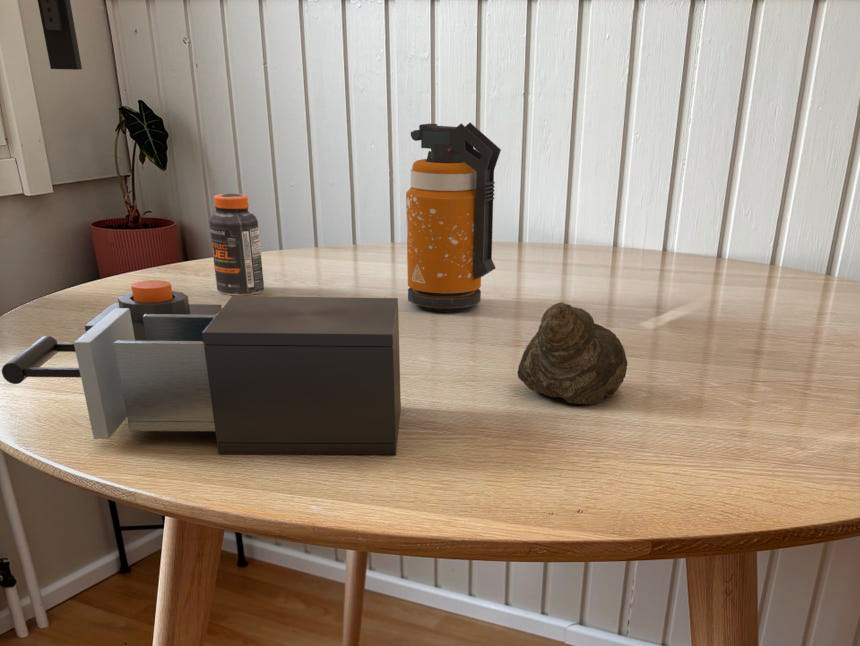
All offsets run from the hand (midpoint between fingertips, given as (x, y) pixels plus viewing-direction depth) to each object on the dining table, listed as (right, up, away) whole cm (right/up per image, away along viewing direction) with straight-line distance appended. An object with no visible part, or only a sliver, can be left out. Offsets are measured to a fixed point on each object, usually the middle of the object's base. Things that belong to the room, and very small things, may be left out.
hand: (66, 68), depth 97 cm
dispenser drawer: (+16, -41, -20) cm, 48 cm away
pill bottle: (+12, -14, +24) cm, 30 cm away
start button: (+8, -23, +3) cm, 24 cm away
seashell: (+53, -36, -8) cm, 64 cm away
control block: (+8, -26, +5) cm, 28 cm away
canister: (+39, -18, +19) cm, 47 cm away
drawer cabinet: (+29, -41, -19) cm, 54 cm away
